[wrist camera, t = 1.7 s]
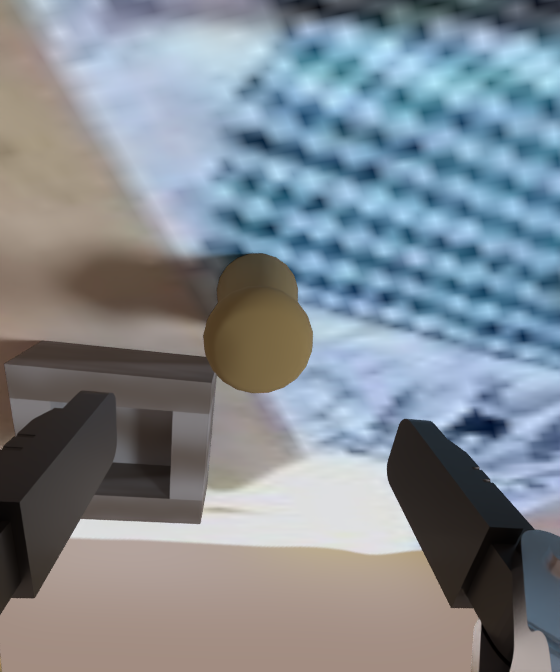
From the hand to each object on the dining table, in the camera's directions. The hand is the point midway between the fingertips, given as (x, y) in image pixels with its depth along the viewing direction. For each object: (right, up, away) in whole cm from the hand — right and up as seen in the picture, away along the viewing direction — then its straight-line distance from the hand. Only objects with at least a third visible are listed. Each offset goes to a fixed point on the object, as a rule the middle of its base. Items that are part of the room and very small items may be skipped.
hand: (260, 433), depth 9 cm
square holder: (-12, -4, +18) cm, 22 cm away
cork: (-1, +6, +15) cm, 17 cm away
